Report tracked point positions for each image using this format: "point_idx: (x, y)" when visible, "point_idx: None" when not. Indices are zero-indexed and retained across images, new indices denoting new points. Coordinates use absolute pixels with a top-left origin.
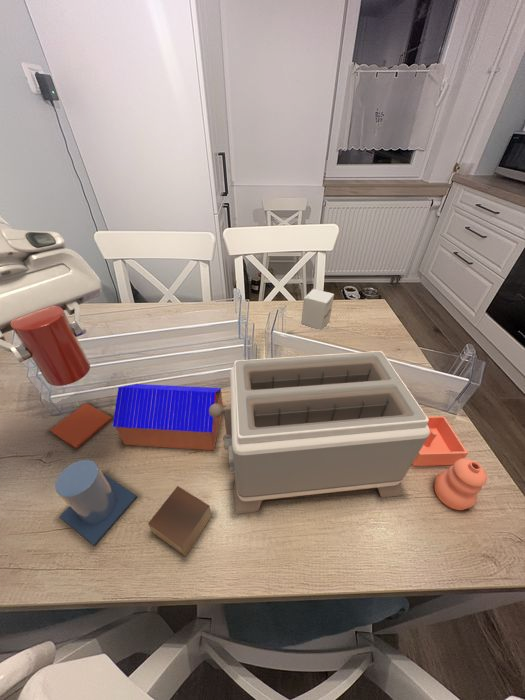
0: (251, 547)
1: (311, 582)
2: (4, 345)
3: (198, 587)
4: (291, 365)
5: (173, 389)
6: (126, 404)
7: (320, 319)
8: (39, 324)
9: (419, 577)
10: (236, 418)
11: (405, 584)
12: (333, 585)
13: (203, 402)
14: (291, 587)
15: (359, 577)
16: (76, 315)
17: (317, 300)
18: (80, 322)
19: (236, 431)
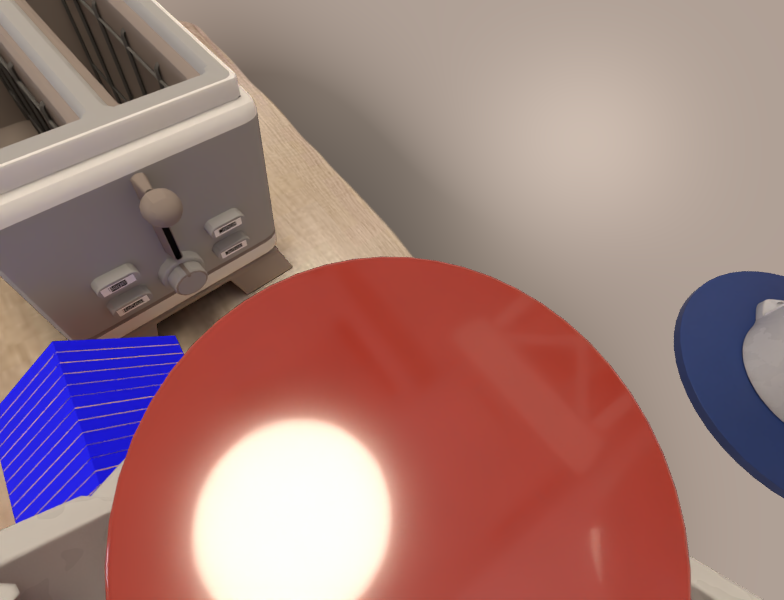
0: (320, 226)
1: (311, 158)
2: (700, 563)
3: (402, 256)
4: None
5: (85, 484)
6: None
7: None
8: (461, 308)
9: (239, 81)
10: (178, 124)
11: (255, 90)
12: (300, 141)
13: (101, 367)
14: (330, 173)
15: (275, 123)
16: (55, 527)
17: None
18: (109, 480)
19: (213, 112)
